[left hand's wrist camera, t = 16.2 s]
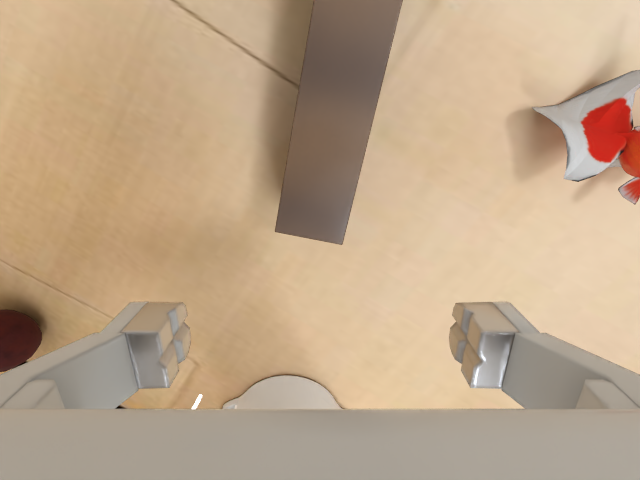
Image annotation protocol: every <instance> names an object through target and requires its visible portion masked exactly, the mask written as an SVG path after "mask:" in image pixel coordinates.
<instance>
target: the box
mask: <svg viewBox="0 0 640 480" xmlns="http://www.w3.org/2000/svg"><path fill="white" fill-rule="evenodd" d="M402 1H403V0H314V3H313V9H312V15H311V20H310V26H309V32H308V38H307V44H306V50H305V56H304V62H303V68H302V74H301V80H300V86H299V92H298V97H297V103H296V109H295V115H294V121H293V127H292V133H291V139H290V145H289V151H288V157H287V163H286V169H285V174H284V180H283V186H282V192H281V198H280V204H279V210H278V216H277V222H276V228H275V232H278V233H283V234H289V235H294V236H299V237H304V238H309V239H315V240H320V241H325V242H330V243H335V244H340V245H342V244H343V240H344V236H345V232H346V228H347V224H348V220H349V216H350V212H351V207H352V203H353V199H354V195H355V191H356V187H357V183H358V179H359V175H360V171H361V167H362V163H363V159H364V155H365V151H366V147H367V143H368V139H369V135H370V131H371V127H372V122H373V118H374V114H375V110H376V106H377V102H378V98H379V94H380V90H381V86H382V82H383V78H384V74H385V70H386V66H387V62H388V58H389V54H390V50H391V46H392V42H393V37H394V33H395V29H396V25H397V21H398V17H399V13H400V9H401V5H402Z"/></svg>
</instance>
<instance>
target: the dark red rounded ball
mask: <svg viewBox="0 0 640 480" xmlns="http://www.w3.org/2000/svg"><path fill="white" fill-rule="evenodd" d="M41 340H42V332H41V330H40V328H39V326H38V324H37V323H36V322H35V321H34V320H33V319H32V318H30V317H29V316H27V315H25V314H22V313H19V312H17V311H14V310H0V372H4V371H7V370H10V369H12V368H14V367H16V366H18V365H19V364H21V363H23V362H25V361H26V360H27V359H29V358H30V357H32V355H33V354H34V353H35V351H36V350H37V348H38V347H39V345H40V344H41Z"/></svg>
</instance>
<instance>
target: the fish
mask: <svg viewBox="0 0 640 480" xmlns="http://www.w3.org/2000/svg"><path fill="white" fill-rule="evenodd" d="M639 87H640V70H636V71H631V72H629V73H627V74H624V75H622V76H620V77H617V78H615V79H612V80H610V81H608V82H605V83H603V84H600V85H598V86H596V87H594V88H592V89H590V90H588V91H586V92H584V93H582V94H580V95H578V96H576V97H574V98H572V99H570V100H567V101H565V102H563V103H561V104H559V105H553V106H545V107H532V108H533V110H535V111H537V112H538V113H540V114H542V115H544V116H546V117H547V118H548V119H550V120H551V121H552V122H554V123H555V124H556V125H557V126H558V127H559V128H561V129H562V132H563V134H564V137H565V139H566V144H567V154H568V156H567V167H566V172H565V176H564V179H568V180H572V181H577V182H579V181H582V180H584V179H587V178H590V177H593V176H595V175H597V174H598V173H600V172H602V171H603V170H605V169H606V168H608V167H622V168H623V169H624V171H625V172H626V173H628V174H630V175H632V176H634V177H635V178H633V179H631V180H630V181H628V182H627V183H625V184H624V185H622V186H621V187H619V189H618V190H619V192H620V193H621V195H622V196H623V197H624V198H625V199H627V200H629V201H630V202H632V203H633V204H636V202H637V201H638V199H639V198H640V126H637V127H634V130H632V128H633V119H632V106H633V102H634V95H635V92H636V90H637V89H638V88H639ZM631 130H632V131H631ZM618 157H619V159H617V158H618Z"/></svg>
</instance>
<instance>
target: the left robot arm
mask: <svg viewBox="0 0 640 480" xmlns="http://www.w3.org/2000/svg"><path fill="white" fill-rule="evenodd" d="M187 316H188V314H187V309H186V305H185V304H184V303H183V302H131V303H129V304H128V305H127V306H126V307H125V308H124V309H123V310H122V311H121V312H120V313H119V314H118V315H117V316H116V317H115V318H114V319H113V320H112V321H111V322H110V323H109V324H108V325H107V326H106V327H105V328H104V329H103V330H102V331H101V332H100V333H93V334H91V335H88V336H86V337H84V338H82V339H79V340H77V341H75V342H73V343H70V344H68V345H66V346H64V347H61V348H59V349H57V350H55V351H52V352H50V353H48V354H46V355H43V356H41V357H39V358H37V359H34V360H32V361H30V362H28V363H25V364H23V365H21V366H19V367H16V368H14V369H12V370H10V371H7V372H5V373H3V374H1V375H0V480H640V375H639V374H637V373H635V372H632V371H630V370H628V369H626V368H623V367H621V366H619V365H617V364H614V363H612V362H610V361H608V360H605V359H603V358H601V357H599V356H596V355H594V354H592V353H590V352H587V351H585V350H583V349H581V348H578V347H576V346H574V345H572V344H569V343H567V342H565V341H563V340H560V339H558V338H556V337H554V336H552V335H549V334H547V333H540V332H539V331H538V330H537V329H536V328H535V327H534V326H533V325H532V324H531V323H530V322H529V321H528V320H527V319H526V318H525V317H524V316H523V315H522V314H521V313H520V312H519V311H518V310H517V309H516V308H515V307H514V306H513V305H512V304H511V303H509V302H506V301H505V302H473V303H456V304H455V306H454V308H453V314H452V316H453V317H454V319H455V320H456V322H455V323H454V325H453V326H452V327H451V328H450V334H449V342H450V349H451V352H452V354H453V356H454V358H455V360H457V361H458V362H460V363H461V364H462V367H461V371H462V373H463V375H464V377H465V379H466V380H467V382H468V384H469V386H470V388H497V389H502V391H503V392H505V393H506V394H507V395H509V396H510V397H511V398H512V399H514V400H515V401H516V402H517V403H519V404H520V405H521V406H523V407H524V408H525V409H342V408H341V407H340V406H339V405H338V404H337V402H336V401H335V399H334V397H333V396H332V395H331V393H330V392H329V391H328V390H327V389H325V388H324V387H323V386H321V385H320V384H318V383H316V382H314V381H312V380H310V379H307V378H303V377H298V376H289V375H284V376H275V377H270V378H267V379H264V380H262V381H260V382H258V383H256V384H254V385H253V386H251V387H250V388H249V389H248V390H247V391H246V392H245V393H244V394H243V395H242V396H240V397H238V398H236V399H233V400H231V401H228V402H226V403H225V404H224V405H223V408H222V409H196V407H197V405H198V403H199V401H200V399H201V397H202V395H199V397H198V399H197V401H196V402H195V404H194V406H193V408H192V409H115V408H116V407H118V406H119V405H120V404H121V403H123V402H124V401H125V400H127V399H128V398H129V397H130V396H132V395H133V394H134V393H135V392H137V391H138V389H143V388H170V386H171V384H172V382H173V380H174V379H175V377H176V375H177V373H178V371H179V367H178V364H179V363H180V362H182V361H183V360H185V358H186V356H187V354H188V352H189V348H190V344H191V333H190V328H189V327H188V326H187V325H186V324H185V322H184V320H185V319H186V317H187Z"/></svg>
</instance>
